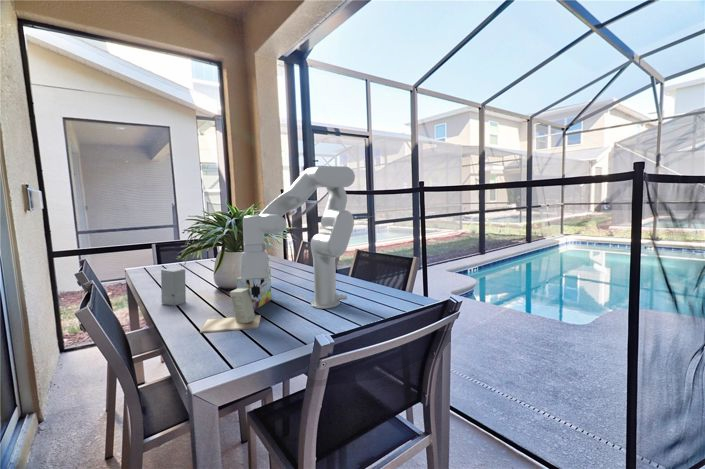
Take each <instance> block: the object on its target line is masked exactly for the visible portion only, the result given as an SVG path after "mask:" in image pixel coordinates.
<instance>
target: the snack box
mask: <svg viewBox="0 0 705 469" xmlns="http://www.w3.org/2000/svg"><path fill="white" fill-rule="evenodd" d="M271 275H272V274H271V268H270V267H269V277H270V280H269V281H266V282H263V283H262V284H261V285H260V295H258V297H257V298H256V297H255V298H253V295H252V292H251V287H250V285H249V284H247V283H244V282H241V281H240V280H241V276H240V277H237V278H236V289H237V288H249V290H250V295H251V299H252V304H253V309H254V311H256V310H258V309H259V308H261V307H262V306H264V305H265V304H266V303H268V302H270V301H271V300H272V287H271V286H272V285H271V284H272V281H271V277H272V276H271ZM253 280H254V284H255V286H256V284H257V280H258V279H253Z"/></svg>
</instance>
